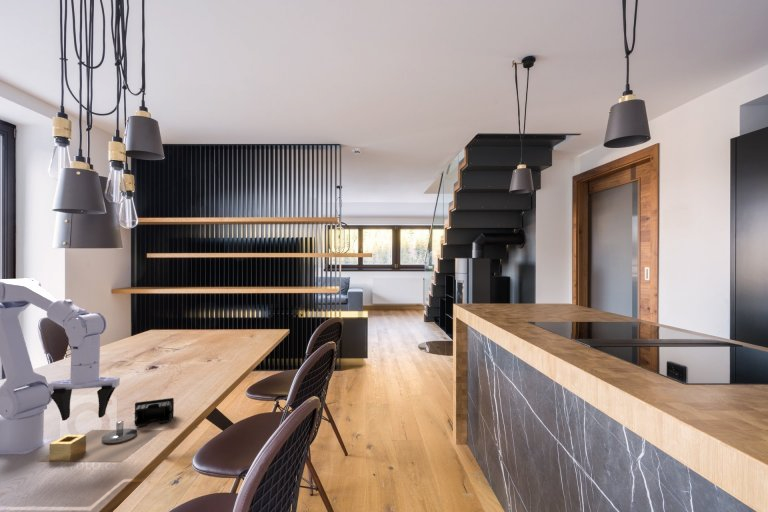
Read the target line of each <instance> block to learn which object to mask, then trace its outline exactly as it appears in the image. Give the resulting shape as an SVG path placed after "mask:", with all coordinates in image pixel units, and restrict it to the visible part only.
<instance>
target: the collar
mask: <svg viewBox="0 0 768 512" xmlns="http://www.w3.org/2000/svg"><path fill="white" fill-rule="evenodd" d="M48 448H49V449H48V451H49V454H48V455H49V461H71V460H72V459H74V458H75V457H77V456H79V455H80V454H82V453H83V452H85V451H86V435H84V434H65V435H63V436H61V437H59V438H58V439H55V440H54V441H51V443H49V447H48Z"/></svg>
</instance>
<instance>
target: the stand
mask: <svg viewBox="0 0 768 512" xmlns="http://www.w3.org/2000/svg"><path fill="white" fill-rule="evenodd" d="M115 423H116V424H115V425H116V426H115V428H116V429H114V430H115V431H112V432H109V433H107V434H105V435H104V436H103V437H102V441H101V442H102V443H103V444H119V443H123V442H126V441H129V440H131V439H133V438H135V437H136V436H137V430H138V429H135V428H124V420H119V421H118V420H117V421H116V422H115Z"/></svg>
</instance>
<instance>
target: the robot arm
mask: <svg viewBox="0 0 768 512" xmlns="http://www.w3.org/2000/svg"><path fill="white" fill-rule="evenodd" d="M31 304H32V305H33V306H35V307H37V308H40V309H41V310H44V311H45V312H46V316H47V318H48V319H49V320H50V321H52V322H54V323H55V324H57V325H59V326H61V327H62V328H63V329H64V332H65V334H66V337H67V338H68V344H69V346H70V347H71V348H70V379H63V380H53V381H50V382H48V380H47V378H46V376H44V375H42V374H39V373H37V372H35V371H34V368H33V364H32V361H31V358H30V354H29V351H28V347H27V345H26V341H25V337H24V333H23V331H22V330H23V329H22V326H21V324H20V321H19V315H20V313H22V312H24V311H25V310H27V308H28V307H29V306H30V305H31ZM106 328H107V320H106V318H105V317H104V315H102V314H101V313H100V312H98V311H97V312H89V311H87V309H86V308H82V307H80V306H78V305H77V304H75V303H74V301H73V300H72V299H57V297H55V296H53V295H52V294H51V293H49V292H48V291H47V290H45V288H43V287H42V285H41V282H40V281H37V280H36V279H34V278H32V277H26V278H6V279H5V278H2V279H0V362H1V364H2V369H3V372H4V373H3V374H4V375H5V379H6V380H5V381H4V382H3V384H2V385H1V386H0V454H1V455H13V454H14V455H15V454H16V455H18V454H19V455H25V454H29V453H31V452H33V451H35V450H36V449H38V448H39V447H40V448H41V447H42V446H44V445H45V444H48V443H49V442H52V441H53V438H52V439H51V438H47V439H46V438H44V430H45V429H44V428H45V427H44V426H45V425H44V424H45V421H44V420H45V410H48V405H50V403H52V401H53V402H54V403H55V404H56V406H57V408H58V410H59V413H60V417H61V421H66V420H68V419H70V417H71V416H70V415H71V398H72V391H73V390H79V389H81V390H82V389H96V388H100V389H98V390H97V391H96V393H97V399H98V413H97V415H98V416H97V417H98V418H99V419H100V418H103V417H104V416H105V415H106V411H107V408H108V404H109V402H110V399H111V397H112V395H113V393H114V391H115V390H116V388H117V387H119V386H120V376H119V377H118V376H117V377H111V376H110V377H107V376H105V377H103V376H100V356H101V355H100V353H101V350H100V349H101V335H103V333H104V332H105V330H106ZM16 389H17V390H16Z"/></svg>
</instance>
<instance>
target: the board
mask: <svg viewBox="0 0 768 512" xmlns="http://www.w3.org/2000/svg"><path fill="white" fill-rule="evenodd" d="M115 430H116V429H92V430H91V429H90V430H89V431H88V432H86V433H84V434H83V435H86V451H85V452H83V453H82V454H80V455H79V456H77V457H75V458H74V459H72V460H71V461H49V454H48V455H46V456H44V457H43V458H41V459H38V461H36V463H123V461H125V460H126V459H127V458H129V457H130V456H131V455H133V454H134V453H136V452H137V451H138V450H139V449H140V448H142V447H143V446H145V444H147V443H148V442H150V441H151V440H152V439H154V438H155V437H156V436H158V434H160V433H162V432H163V431H164V430H163V429H136V430H137V436H136V437H135V438H133V439H131V440H129V441H126V442H123V443H119V444H103V443H102V442H101V441H102V437H103V436H104V435H105V434H107V433H109V432H112V431H115Z"/></svg>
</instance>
